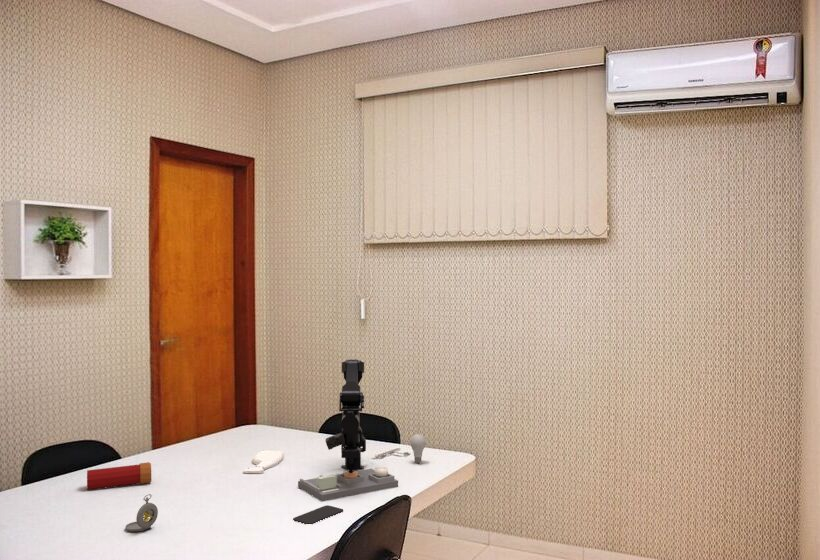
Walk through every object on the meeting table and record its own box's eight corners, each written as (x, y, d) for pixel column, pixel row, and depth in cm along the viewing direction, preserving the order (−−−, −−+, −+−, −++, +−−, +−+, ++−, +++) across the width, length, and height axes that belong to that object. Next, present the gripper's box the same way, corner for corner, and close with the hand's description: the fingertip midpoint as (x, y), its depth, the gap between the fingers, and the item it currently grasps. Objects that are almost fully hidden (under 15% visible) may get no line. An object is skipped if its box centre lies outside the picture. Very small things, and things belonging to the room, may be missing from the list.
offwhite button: (372, 474, 229) (372, 468, 229) (383, 472, 231) (383, 466, 231) (379, 477, 225) (379, 471, 225) (390, 475, 227) (390, 469, 227)
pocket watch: (130, 524, 190) (130, 489, 190) (160, 523, 191) (160, 488, 191) (120, 535, 182) (120, 498, 182) (152, 534, 183) (152, 497, 183)
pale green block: (316, 488, 217) (316, 477, 217) (333, 485, 221) (333, 474, 221) (319, 490, 215) (319, 479, 215) (336, 487, 219) (336, 476, 219)
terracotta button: (341, 478, 228) (341, 472, 228) (353, 476, 230) (353, 470, 230) (348, 481, 224) (348, 475, 224) (360, 479, 226) (360, 473, 226)
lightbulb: (424, 465, 254) (424, 436, 254) (408, 464, 255) (408, 435, 255) (427, 461, 260) (427, 433, 260) (411, 460, 261) (411, 432, 261)
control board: (298, 487, 226) (298, 476, 226) (370, 474, 242) (370, 464, 242) (322, 501, 211) (322, 490, 211) (398, 486, 227) (398, 476, 227)
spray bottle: (286, 458, 266) (268, 476, 241) (259, 457, 267) (238, 475, 242) (286, 450, 266) (268, 468, 241) (259, 450, 267) (238, 467, 242)
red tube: (151, 485, 228) (152, 465, 228) (86, 492, 220) (86, 471, 220) (150, 480, 234) (150, 460, 235) (87, 486, 226) (87, 465, 227)
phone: (291, 518, 194) (326, 504, 206) (291, 521, 194) (326, 507, 206) (309, 524, 190) (345, 509, 202) (309, 527, 190) (345, 512, 202)
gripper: (327, 421, 236) (327, 465, 236) (326, 432, 217) (325, 481, 217) (359, 420, 237) (359, 465, 237) (360, 432, 218) (360, 480, 218)
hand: (350, 472), depth 227 cm, fingers closed, pressing on terracotta button
